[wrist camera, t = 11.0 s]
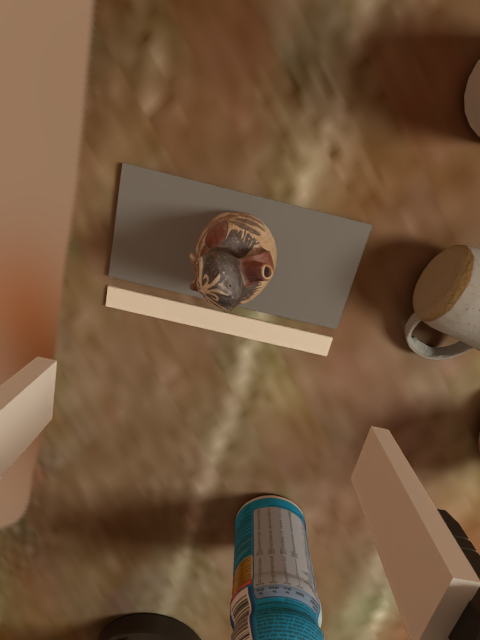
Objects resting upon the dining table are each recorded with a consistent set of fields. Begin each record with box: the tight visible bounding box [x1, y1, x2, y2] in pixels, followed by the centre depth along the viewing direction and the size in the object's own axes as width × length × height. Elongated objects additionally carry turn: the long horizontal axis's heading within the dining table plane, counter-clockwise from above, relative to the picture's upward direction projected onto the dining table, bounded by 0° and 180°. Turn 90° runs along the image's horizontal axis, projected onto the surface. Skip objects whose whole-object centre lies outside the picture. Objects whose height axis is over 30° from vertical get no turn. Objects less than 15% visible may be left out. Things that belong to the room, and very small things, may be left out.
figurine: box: [190, 211, 277, 312], centre depth 29 cm, size 7×7×12 cm
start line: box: [106, 285, 333, 356], centre depth 37 cm, size 2×22×1 cm, turn 77°
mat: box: [109, 163, 372, 329], centre depth 34 cm, size 10×22×1 cm, turn 77°
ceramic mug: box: [405, 245, 480, 360], centre depth 32 cm, size 11×8×8 cm
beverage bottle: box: [230, 495, 325, 640], centre depth 36 cm, size 8×8×20 cm
